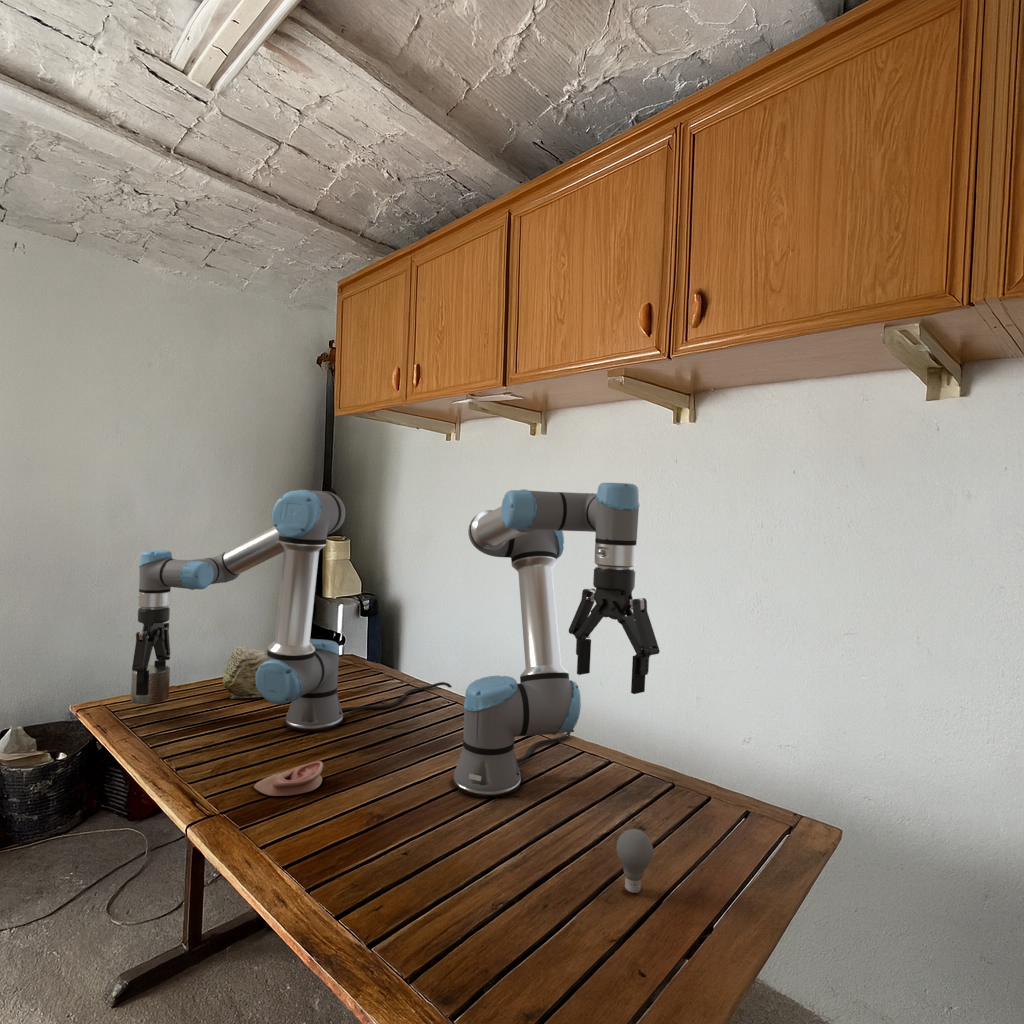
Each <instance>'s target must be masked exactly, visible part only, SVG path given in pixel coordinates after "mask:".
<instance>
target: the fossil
mask: <svg viewBox="0 0 1024 1024" xmlns="http://www.w3.org/2000/svg"><path fill="white" fill-rule="evenodd" d="M266 659H267V652H265V650H264V649H263V648H260V647H258V648H251V647H247V646H246V647H245V646H238V647H237V648H236V649H235V650H233V651H232V653H231V656H230V657H229V659H228V660H227V663H226V666H225V668H224V671H223V675H222V676H223V677H222V685H223V687H224V688H225V690H226V691H228V693H229V698H230V699H250V698H264V697H263V695H262V694H261V693H260V692H259V691H258V688H257V686H256V673H257V670H258V668H259V667H260V666H261V665H262V664H263V663H264V662H265V661H266Z"/></svg>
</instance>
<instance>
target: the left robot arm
mask: <svg viewBox="0 0 1024 1024" xmlns="http://www.w3.org/2000/svg"><path fill="white" fill-rule="evenodd" d="M271 511H272V512H271V513H272V514H271V521H272V522H271V523H272V525H273V526H272V527H271V528H268V529H266V530H265V531H262V532H261V533H259V534H257V535H254V536H253V537H251V538H249V539H247V540H245V541H243V542H241V543H239V544H237V545H235V546H234V547H231V548H229V549H227V550H226V551H224V552H222V553H220V554H218V555H216V556H213V557H205V558H196V559H174V558H173V553H172V551H170V550H165V549H149V550H144V551H142V552H141V554H140V559H139V565H138V568H139V578H138V579H139V581H138V582H139V583H138V594H137V598H138V607H139V608H138V609H137V622H138V623H140V624H142V625H143V627H142V630H141V631H137V632H136V633H135V646H134V653H133V660H132V666H131V671H132V670H133V671H137V681H136V695H148V682H149V670H147V668H148V665H150V659H151V655H152V652H153V650H154V654H155V660H154V664H153V665H166V666H167V661H170V659H171V643H170V632H169V630H170V623H169V620H170V614H171V612H170V611H171V608H170V607H169V606H170V605H171V590H172V589H171V588H176V589H177V588H178V589H187V590H190V591H191V590H192V591H194V590H205V589H207V588H208V587H209V586H210V585H215V584H220V583H221V584H224V583H228V582H231V581H235V580H236V579H238V578H239V577H240V574H242V573H245V572H246V571H248V570H250V569H252V568H254V567H256V566H259V565H261V564H262V563H264V562H266V561H269V560H270V559H273V558H274V557H277V556H278V555H281V554H283V556H282V564H281V565H282V566H281V574H280V585H279V596H278V606H277V613H276V625H275V636H274V641H272V643H270V644H269V645H268V646H267V651H266V654H267V659H266V661H265V662H264V663H263V664H262V665H261V666H260V667H259V668H258V670H257V673H256V686H257V688H258V691H259V692H260V693H261V694H262V695H263V697H262V698H264V699H265V700H266V701H267V702H269V703H271V704H274V705H285V704H288V703H290V704H289V708H288V711H287V713H286V715H285V726H286V728H287V729H289V730H291V731H294V732H295V731H296V732H301V733H316V732H325V731H329V730H332V729H335V728H337V727H339V726H340V725H342V723H343V722H344V714H343V712H348V711H349V712H350V711H360V710H379V709H388V708H392V707H394V706H396V705H397V704H399V703H400V702H401V701H403V700H404V699H405V698H406V697H407V696H408V695H410V694H412V693H415V692H419V691H424V690H429V689H432V688H436V687H440V686H445V687H447V688H452V687H453V686H452V684H450V683H448V682H444V681H441V682H436V683H433V684H430V685H431V686H429V685H426V686H420V687H414V688H412V689H409V690H406V691H405V692H404V693H403V694H402V696H400V697H399V698H398V699H396V700H395V701H393V702H390V703H387V704H379V705H378V704H377V705H358V706H346V707H342V706H341V702H340V699H339V695H338V682H339V662H340V661H339V660H340V652H339V651H340V650H339V648H340V646H339V643H337V641H335V640H330V639H317V638H311V633H312V623H313V614H314V606H315V605H314V604H315V594H316V586H317V575H318V568H319V566H318V565H319V558H320V557H319V556H320V551H321V550H323V548H325V546H327V539H328V535H331V534H332V533H334V532H336V531H338V530H339V529H340V527H341V526H342V525H343V524H344V522H345V520H346V519H345V518H346V507H345V504H344V502H343V500H341V498H340V496H338V495H336V494H335V493H333V492H331V491H327V490H309V489H298V490H291V491H288V492H286V493H284V494H283V495H282V496H280V497H279V498H278V499H277V501H275V503H274V505H273V508H272V510H271Z"/></svg>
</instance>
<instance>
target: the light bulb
mask: <svg viewBox="0 0 1024 1024" xmlns="http://www.w3.org/2000/svg"><path fill="white" fill-rule="evenodd" d="M615 849H616V854H617V857H618V859H619V861H620V863H621V865H622V867H623V873H624V874H623V875H624V876H625V878H624V888H625V890H627V891H628V892H630V893H634V894H635V893H639V892H640V891H641V889H642V887H641V886H642V879H643V877H644V875H645V871H646V868H647V867H648V866H649V864H650V863H651V861H652V859H653V855H654V847H653V843H652V841H651V838H649V836H648V835H647V834H646V833H645V832H643V831H642V830H641V829H636V828H629V829H627V830H625V831H623V832H622V833H621V834H620V835H619V837H618V839H617V841H616V847H615Z"/></svg>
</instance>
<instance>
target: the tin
mask: <svg viewBox="0 0 1024 1024" xmlns="http://www.w3.org/2000/svg"><path fill="white" fill-rule="evenodd" d="M147 670H149V682H148V695H136V681H137V671H133V670H132V669H131V686H130V702H131V703H133V704H135V705H153V704H159V703H161V702H164V701H167V700H168V699H169V698H170V680H171V667H170V666H169V665H167V664H166V665H154V664H148V668H147Z"/></svg>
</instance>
